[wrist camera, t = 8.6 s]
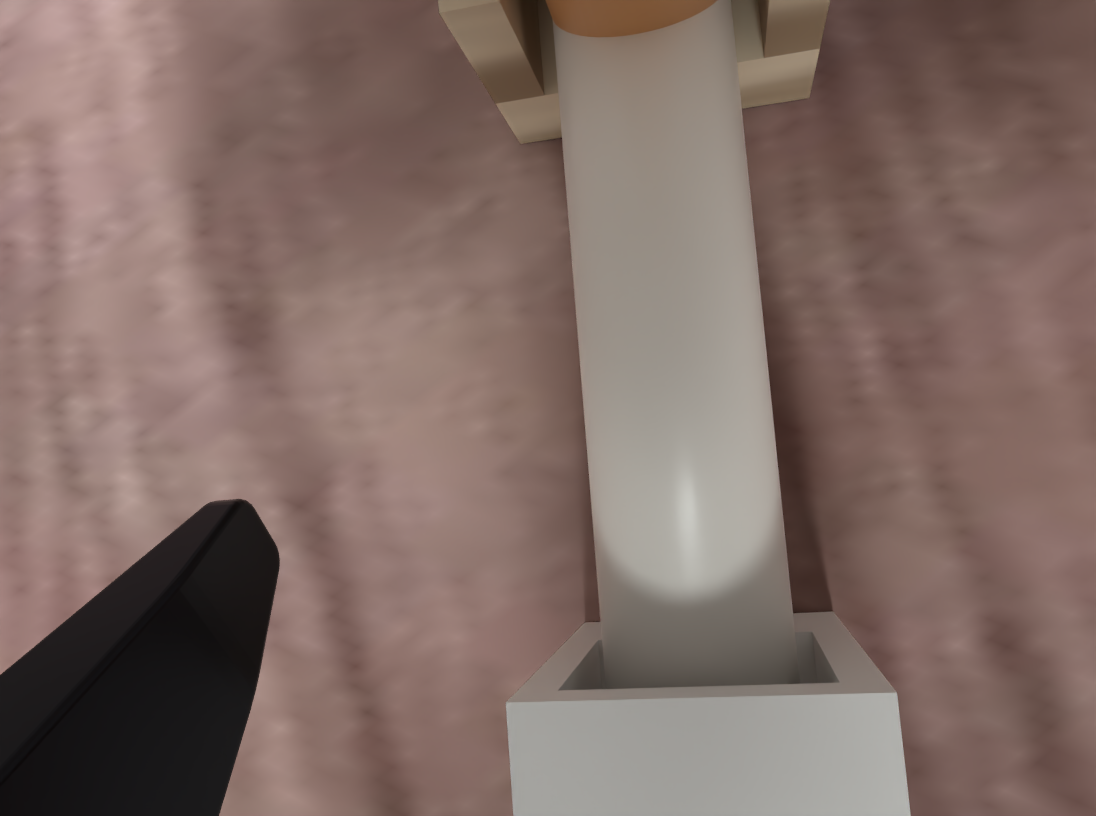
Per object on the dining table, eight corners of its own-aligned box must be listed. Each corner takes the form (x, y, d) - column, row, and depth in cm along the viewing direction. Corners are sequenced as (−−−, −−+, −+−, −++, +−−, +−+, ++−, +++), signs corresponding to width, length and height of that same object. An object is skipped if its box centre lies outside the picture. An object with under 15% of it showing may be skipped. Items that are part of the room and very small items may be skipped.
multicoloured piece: (801, 753, 14) (1201, 2243, 2) (625, 755, 15) (188, 1947, 3) (712, -128, 16) (665, -2074, 4) (556, -95, 17) (81, -1680, 4)
